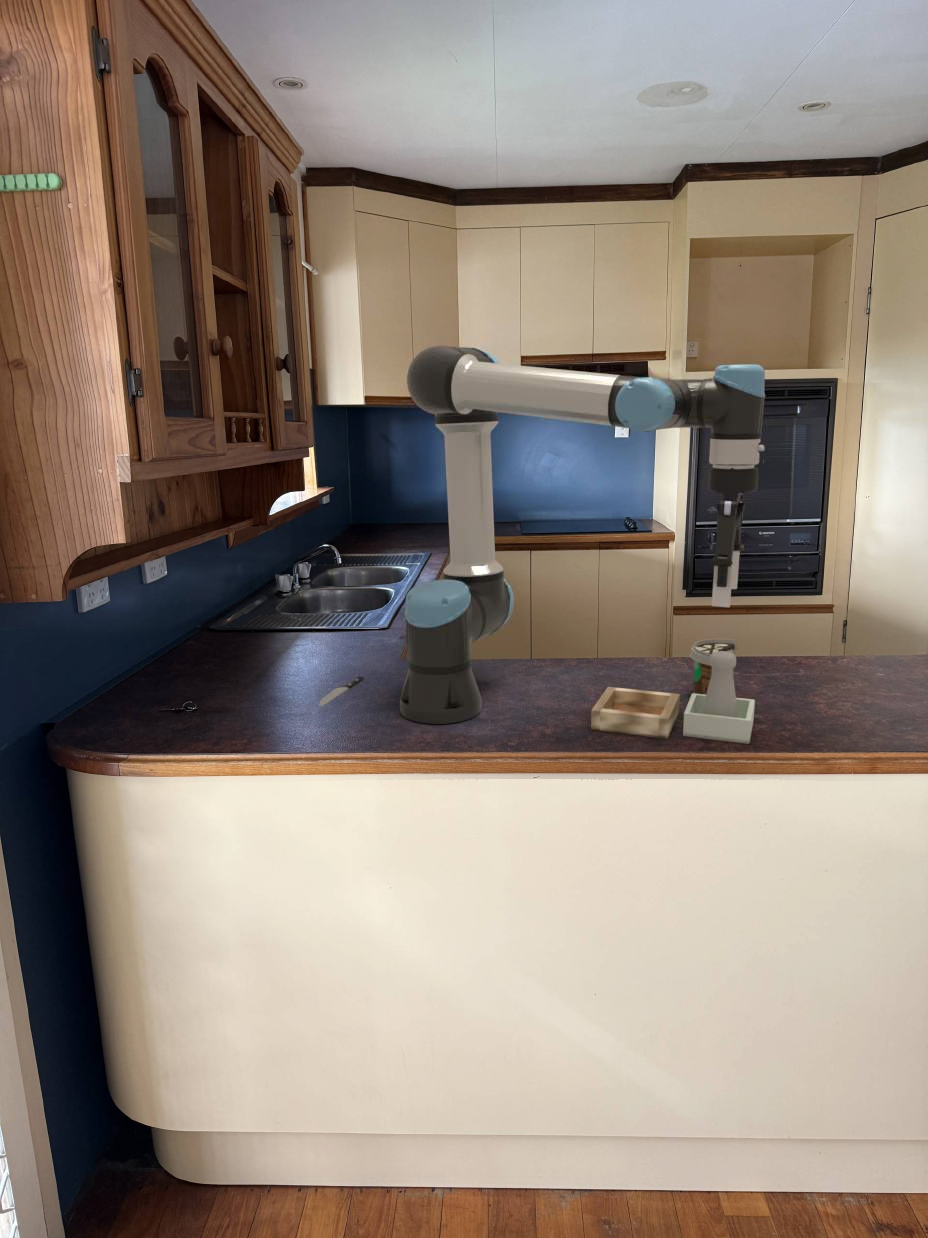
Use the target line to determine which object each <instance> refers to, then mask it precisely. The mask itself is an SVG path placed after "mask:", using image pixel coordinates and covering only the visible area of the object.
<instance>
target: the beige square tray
mask: <svg viewBox="0 0 928 1238" xmlns="http://www.w3.org/2000/svg"><path fill="white" fill-rule="evenodd" d="M680 696H681V695H680V693H672V692H664V691H663V692H661V691H652V690H642V689H634V688H633V689H632V688H625V687H624V688H623V687H622V688H621V687H614V686H607V688H606V689H605V690H604V692H603V693H602V695H601V696H600V697H599V699H598V700H597V702H596V703H595V705H594V706H593V707H592V709H591V712H590V713H591V716H590V720H591V721H590V729H591V730H594V731H600V732H601V731H602V732H608V733H617V734H623V735H624V734H625V735H633V736H641V737H650V738H659V739H666V740H668V739H669V736H670V734H671V732H672V730H673V727H674V726H675V722H676V720H677V718H678V715H679V713H680V700H681V699H680ZM615 703H617V704H626V705H635V706H644V707H653V708H662V709H663V712H662V714H661V715H655V714H647V713H638V712H629V711H620V710H612V708H613V706H614V705H615Z"/></svg>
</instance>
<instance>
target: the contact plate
mask: <svg viewBox="0 0 928 1238" xmlns="http://www.w3.org/2000/svg"><path fill="white" fill-rule="evenodd" d="M612 710H620V711H629V712H638V713H647V714H655V715H661V714H662V712H663V709H662V708H653V707H644V706H635V705H626V704H617V703H615V705H614V706H613V708H612Z"/></svg>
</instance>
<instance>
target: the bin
mask: <svg viewBox="0 0 928 1238" xmlns="http://www.w3.org/2000/svg"><path fill="white" fill-rule="evenodd" d="M705 698H706V695H705V694H695V692H692V693H691V695H690V697H689V700H688V703H687V705H686V708H685V710H684V712H683V730H682V736H683V737H690V738H698V739H705V740H715V741H722V742H730V743H739V744H749V745H750V743H751V736H752V732H753V726H754V717H755V706H756V705H755V704H756V700H755V699H751V698H742V697H736V702H737V709H738V716H737V718H736V717H727V716H718V715H709V714H703V713H702V709H703V705H704V702H705Z"/></svg>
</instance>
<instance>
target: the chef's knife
mask: <svg viewBox="0 0 928 1238" xmlns="http://www.w3.org/2000/svg"><path fill="white" fill-rule="evenodd" d="M362 681H364V676H357V678H356V679H355V680H353V681H352V682H350V683H349V684H347V685H345V686H343V687H336V688H334V689H332V690H331V691H330V692H329V693H328V694H326V695H325V696H323V697H322V698H321V699H320V700H319V703H318V706H319V707H323V706H325V705H327V704H328V703H329V702H331V701H333V700H335V699H336V698H338V697H339V696H341V695H342V694H344V693H346V692H348V691H349V690H350V689H351V688H352V687H355V686H356V685H358V684H359V683H361V682H362Z"/></svg>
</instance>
